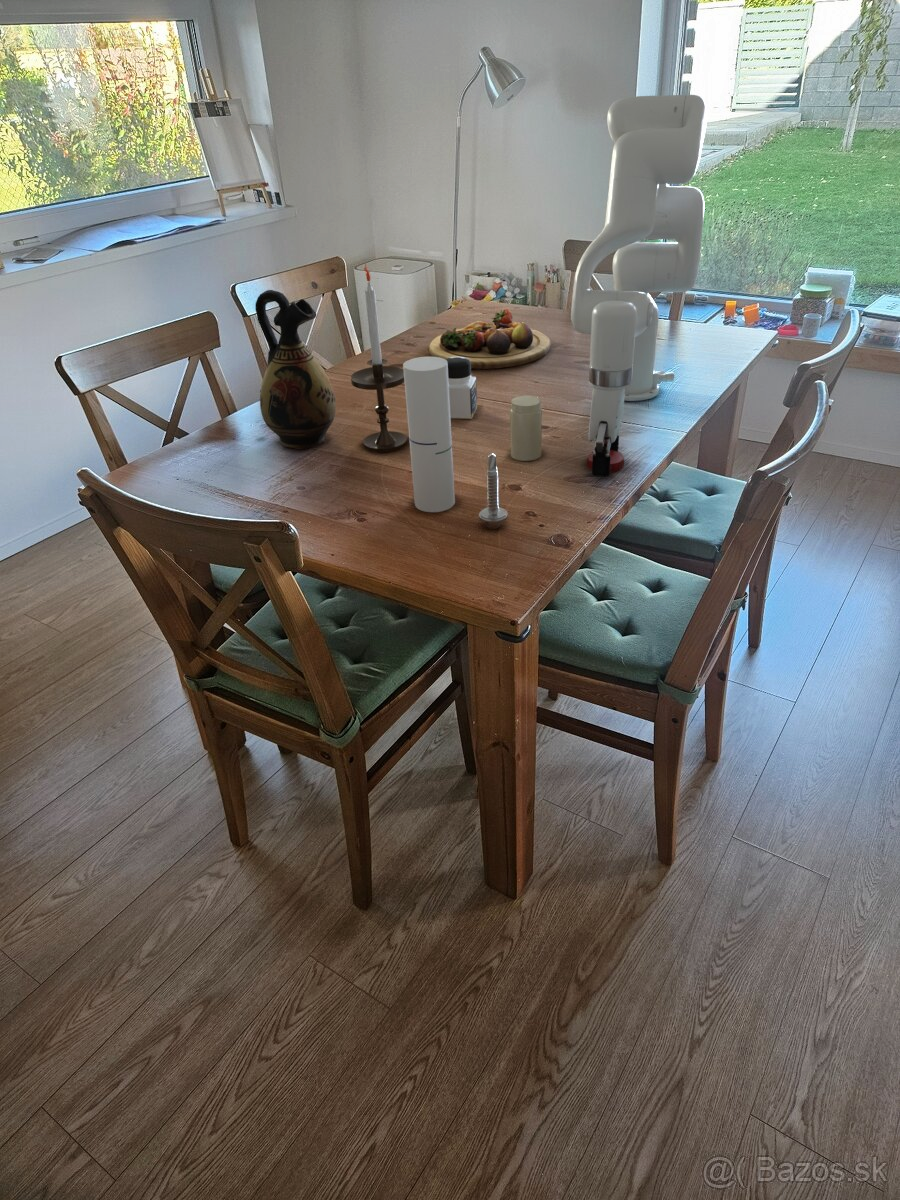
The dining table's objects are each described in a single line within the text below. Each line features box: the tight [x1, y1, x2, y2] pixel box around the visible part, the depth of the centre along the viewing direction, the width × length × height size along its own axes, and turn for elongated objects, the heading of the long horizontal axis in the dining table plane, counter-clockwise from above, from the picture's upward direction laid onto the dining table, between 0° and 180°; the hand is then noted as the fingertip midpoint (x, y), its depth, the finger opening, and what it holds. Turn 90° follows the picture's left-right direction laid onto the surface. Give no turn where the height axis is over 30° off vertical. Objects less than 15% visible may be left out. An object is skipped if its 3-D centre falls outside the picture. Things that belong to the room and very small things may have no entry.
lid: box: [586, 450, 625, 473], centre depth 154 cm, size 7×7×2 cm
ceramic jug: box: [254, 289, 337, 450], centre depth 164 cm, size 17×15×30 cm
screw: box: [478, 453, 509, 530], centre depth 134 cm, size 13×5×5 cm
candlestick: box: [350, 263, 408, 454], centre depth 159 cm, size 11×11×35 cm
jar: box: [509, 395, 543, 462], centre depth 157 cm, size 6×6×11 cm
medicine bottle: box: [446, 356, 478, 420], centre depth 177 cm, size 7×7×12 cm
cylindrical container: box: [402, 356, 456, 513], centre depth 138 cm, size 7×7×25 cm
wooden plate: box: [428, 308, 551, 370], centre depth 214 cm, size 32×32×8 cm
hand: (605, 464), depth 155 cm, fingers open, 9 cm apart
